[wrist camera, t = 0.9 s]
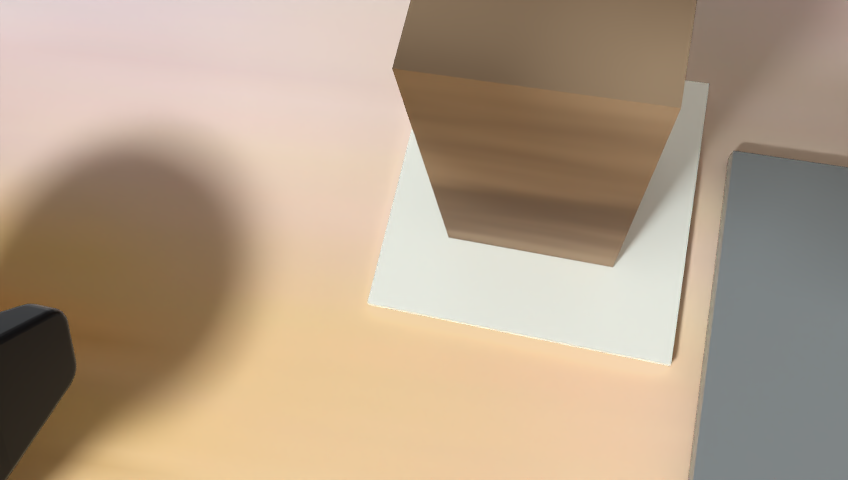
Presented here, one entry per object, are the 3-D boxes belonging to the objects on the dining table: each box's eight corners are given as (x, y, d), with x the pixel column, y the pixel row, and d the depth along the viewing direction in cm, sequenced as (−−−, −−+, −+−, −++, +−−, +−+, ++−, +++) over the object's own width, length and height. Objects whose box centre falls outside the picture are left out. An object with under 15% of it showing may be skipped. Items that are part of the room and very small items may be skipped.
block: (612, 267, 21) (681, 108, 12) (448, 237, 22) (392, 68, 13) (632, 145, 23) (710, -90, 13) (475, 121, 23) (441, -113, 14)
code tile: (668, 365, 21) (671, 364, 20) (369, 304, 22) (367, 302, 22) (707, 88, 23) (709, 83, 23) (433, 52, 25) (432, 47, 25)
